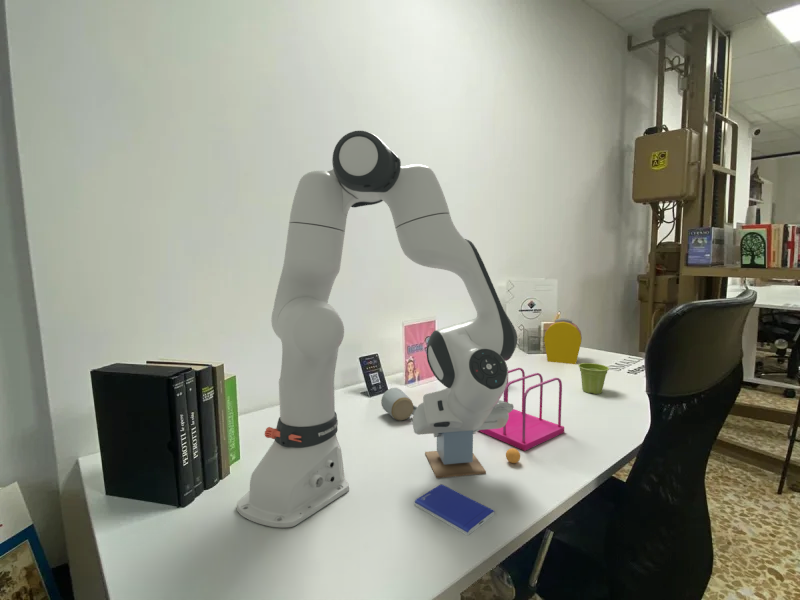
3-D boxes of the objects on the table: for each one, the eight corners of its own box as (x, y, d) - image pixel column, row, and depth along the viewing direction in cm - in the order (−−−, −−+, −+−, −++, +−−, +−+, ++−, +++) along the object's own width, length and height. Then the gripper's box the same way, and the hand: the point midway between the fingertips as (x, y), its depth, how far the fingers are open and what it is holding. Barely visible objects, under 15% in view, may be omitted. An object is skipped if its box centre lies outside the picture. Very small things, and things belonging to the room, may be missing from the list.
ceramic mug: (391, 424, 118) (392, 397, 117) (380, 414, 125) (380, 388, 124) (425, 418, 122) (425, 392, 121) (412, 409, 130) (413, 384, 129)
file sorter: (524, 452, 101) (526, 388, 99) (450, 420, 121) (451, 366, 119) (564, 433, 112) (567, 375, 110) (491, 406, 131) (491, 357, 130)
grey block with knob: (472, 462, 93) (473, 417, 92) (443, 464, 92) (444, 419, 91) (463, 448, 99) (463, 406, 98) (436, 450, 98) (436, 408, 97)
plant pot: (593, 385, 150) (594, 361, 149) (614, 394, 141) (615, 368, 140) (571, 388, 147) (572, 364, 146) (591, 397, 138) (592, 371, 137)
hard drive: (414, 499, 80) (467, 530, 71) (441, 483, 86) (494, 509, 77) (414, 507, 80) (467, 538, 72) (441, 490, 86) (494, 517, 77)
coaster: (485, 473, 91) (485, 471, 91) (436, 478, 90) (436, 475, 90) (469, 450, 102) (469, 448, 102) (425, 453, 100) (425, 451, 100)
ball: (518, 467, 94) (519, 453, 94) (504, 464, 95) (504, 450, 95) (521, 460, 97) (521, 447, 96) (507, 457, 98) (507, 444, 98)
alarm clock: (580, 360, 185) (582, 318, 183) (580, 364, 178) (582, 321, 176) (545, 356, 191) (546, 316, 189) (543, 361, 184) (544, 319, 182)
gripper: (512, 388, 89) (493, 416, 99) (416, 394, 85) (407, 422, 96) (520, 417, 85) (500, 442, 95) (421, 424, 81) (411, 449, 92)
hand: (453, 432), depth 96 cm, fingers closed on grey block with knob, 6 cm apart
